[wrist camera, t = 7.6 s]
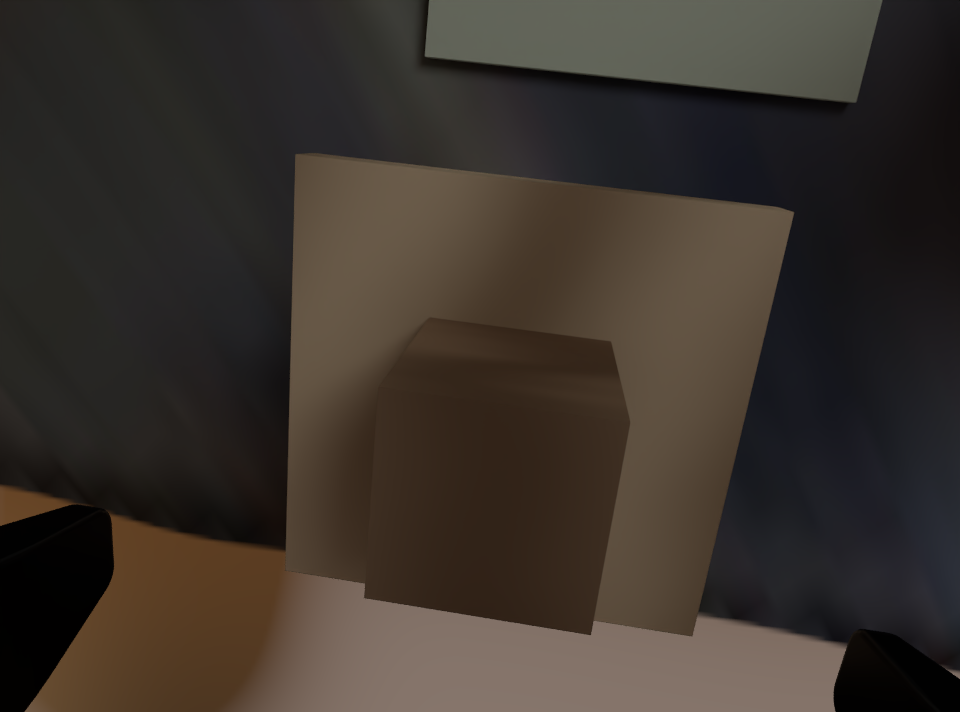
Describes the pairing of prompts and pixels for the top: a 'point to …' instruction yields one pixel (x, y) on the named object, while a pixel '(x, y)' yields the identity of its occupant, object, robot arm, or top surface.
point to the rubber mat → (669, 41)
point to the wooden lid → (519, 388)
